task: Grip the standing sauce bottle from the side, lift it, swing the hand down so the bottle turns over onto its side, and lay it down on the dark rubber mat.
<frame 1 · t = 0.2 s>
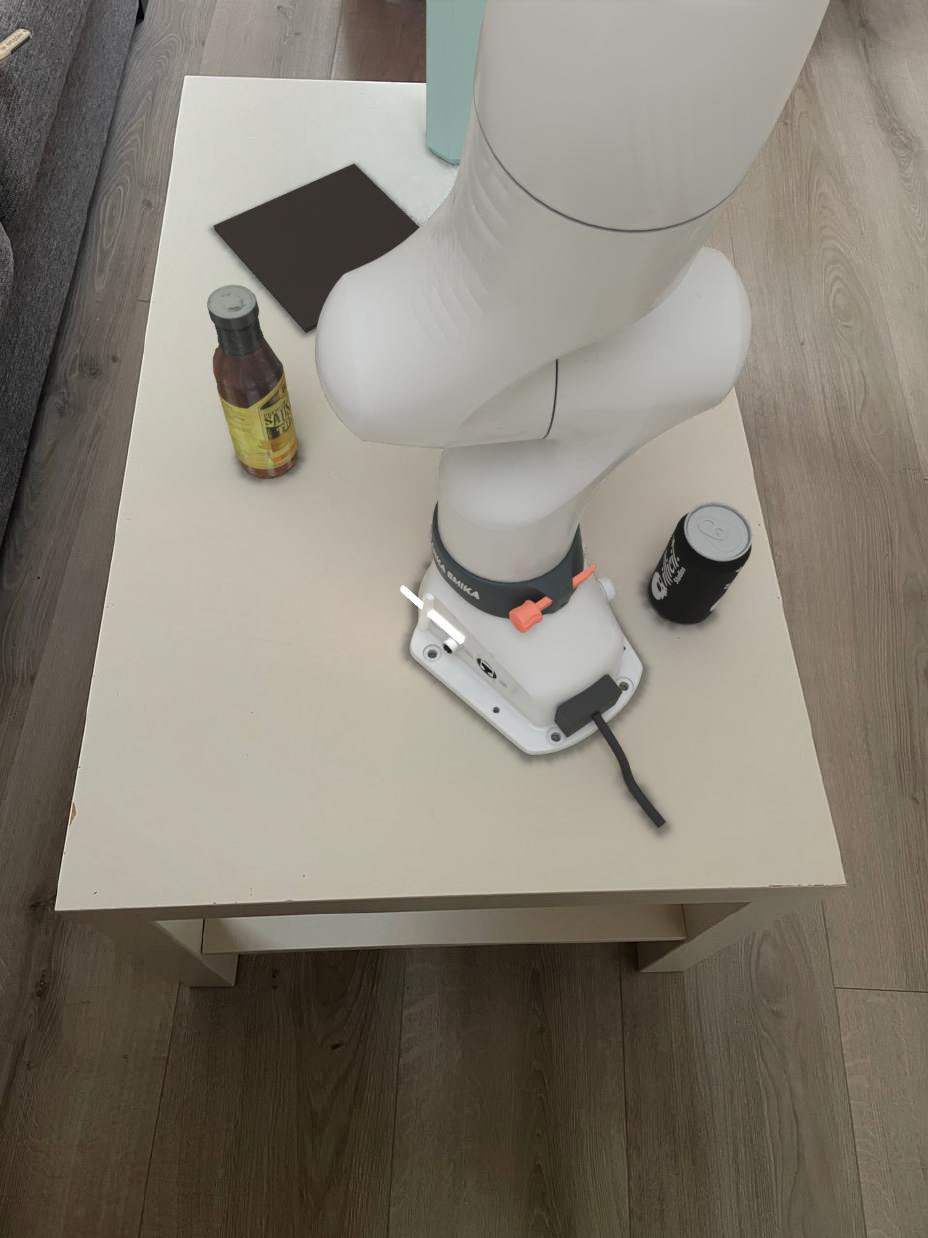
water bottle: (462, 145, 110), on the table
sauce bottle: (270, 456, 87), on the table
mat: (331, 244, 101), on the table
beverage can: (679, 598, 82), on the table
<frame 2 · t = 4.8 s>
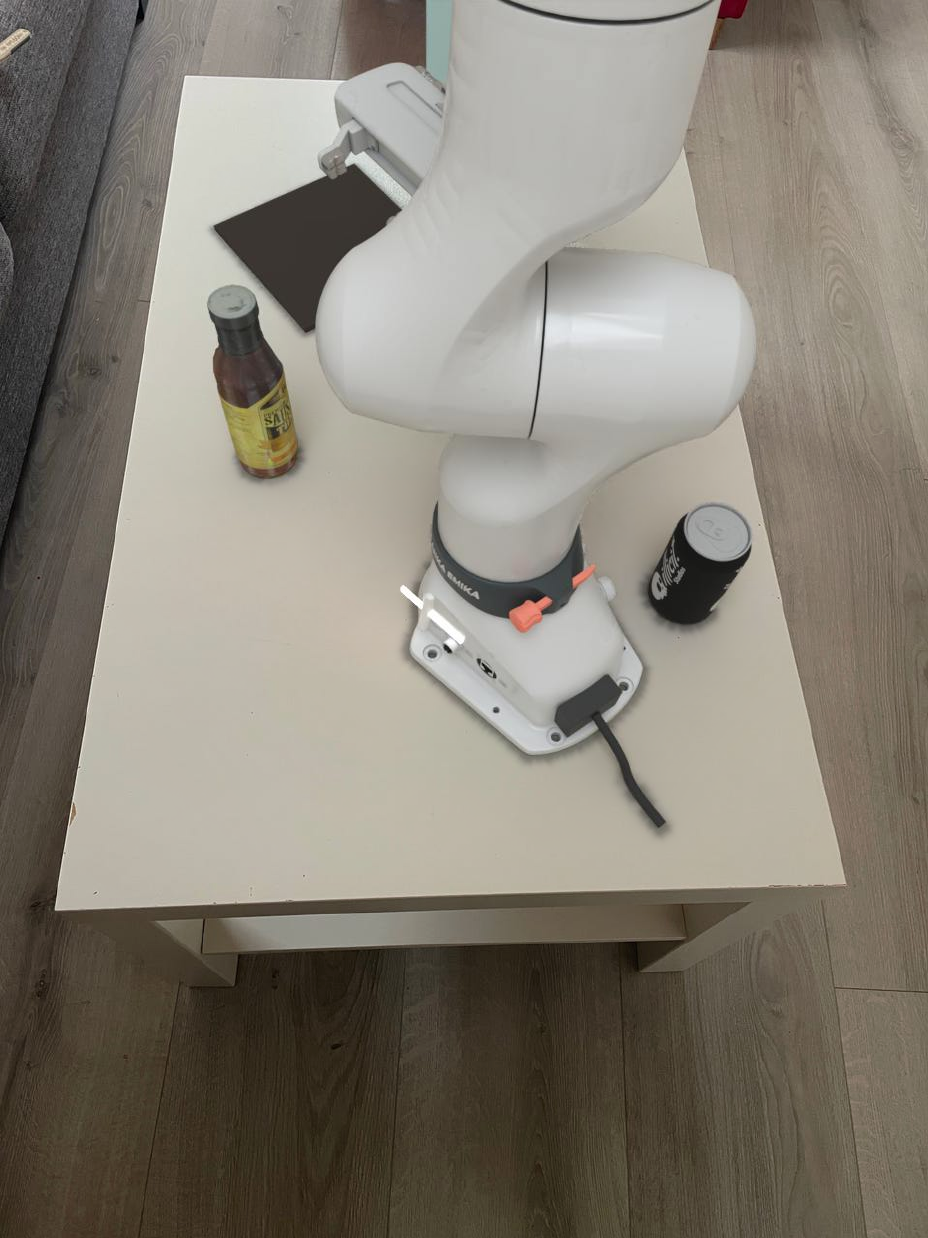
hand: (357, 199, 70), 24 cm above the table, tool horizontal, fingers open, 8 cm apart
nothing on the table moved.
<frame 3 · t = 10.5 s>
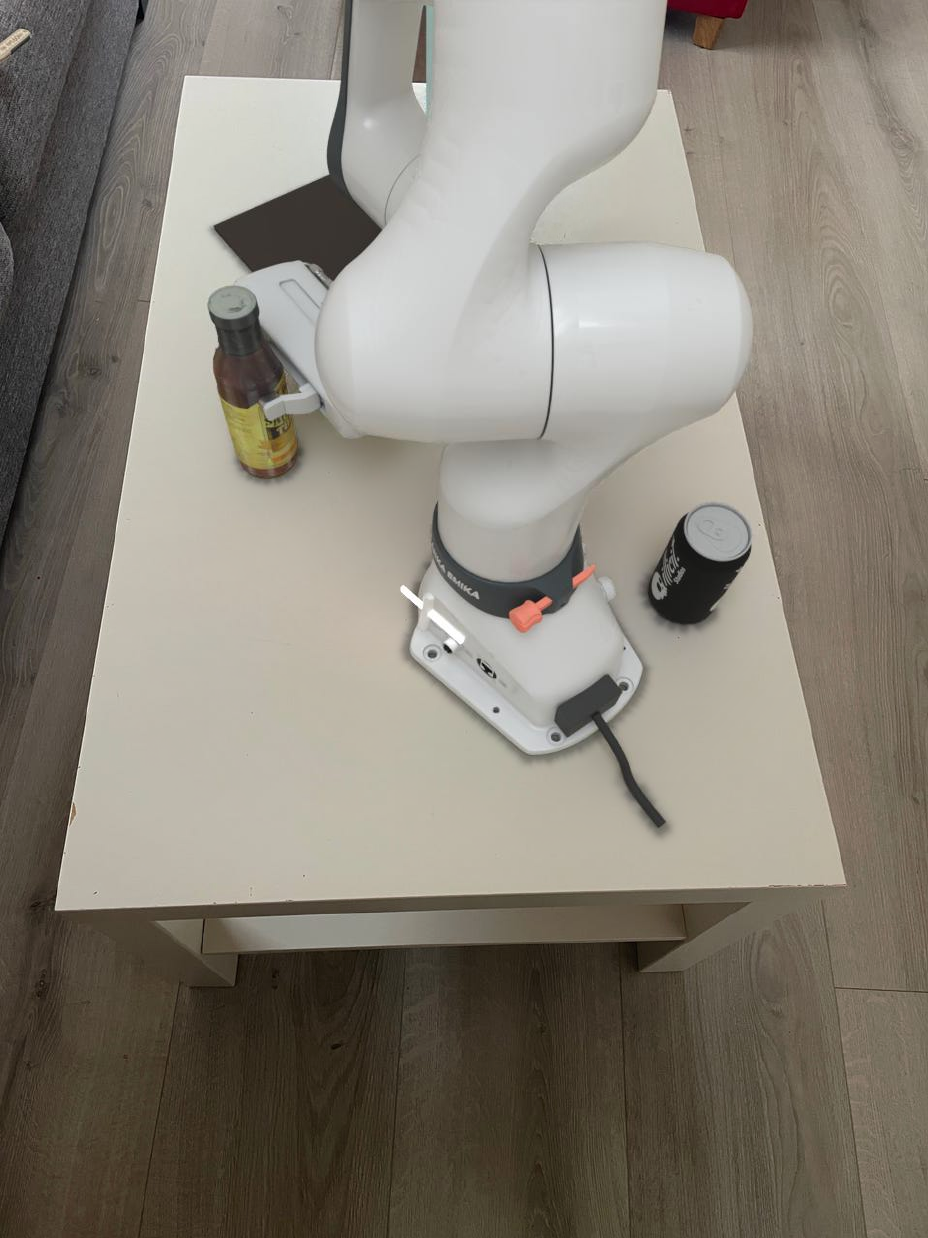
hand: (241, 384, 77), 11 cm above the table, tool horizontal, fingers closed on sauce bottle, 6 cm apart
sauce bottle: (269, 456, 87), on the table, touching gripper
everything else where it was.
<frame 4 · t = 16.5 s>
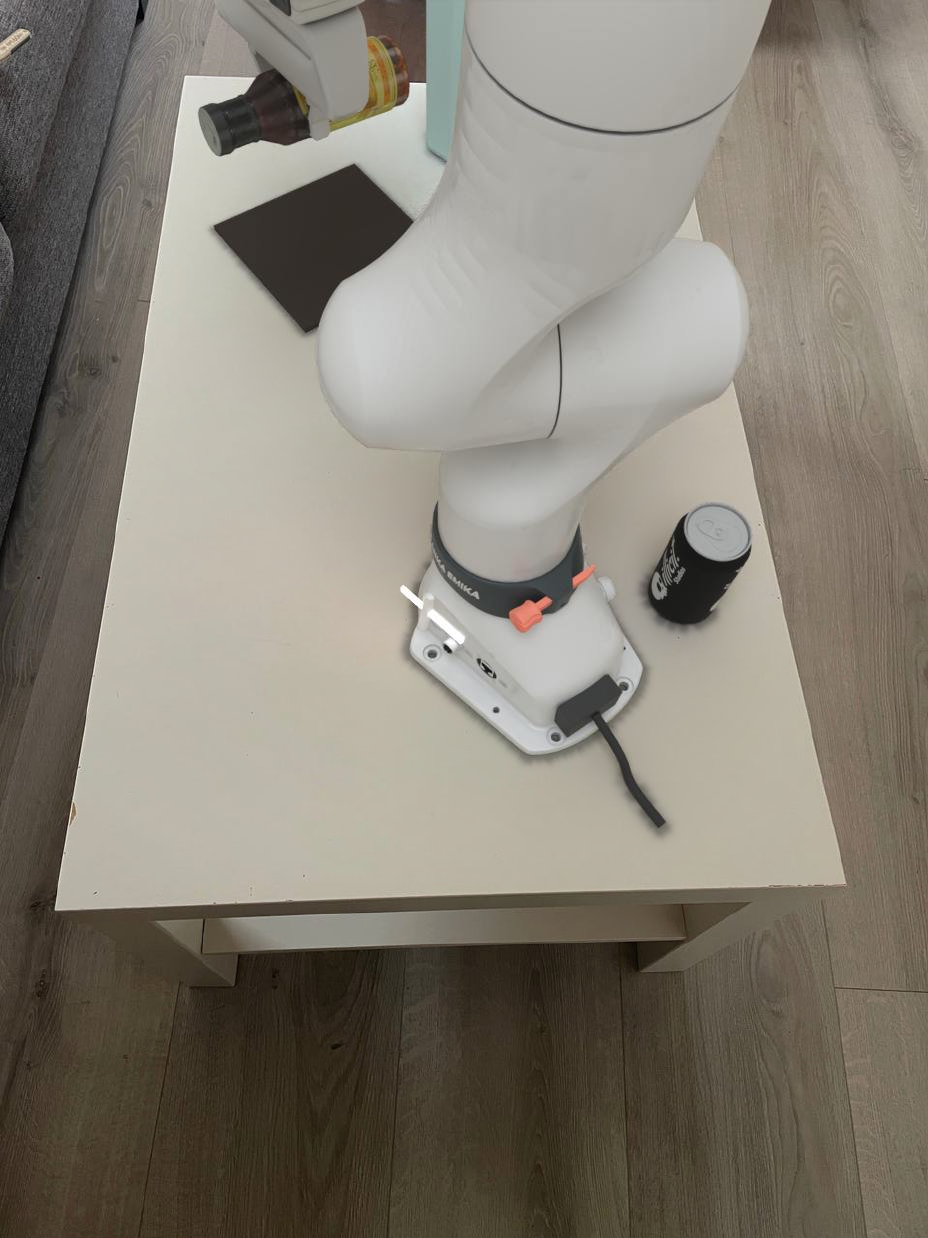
hand: (296, 113, 79), 21 cm above the table, tool pointing down, fingers closed on sauce bottle, 6 cm apart
sauce bottle: (396, 65, 82), point 21 cm above the table, touching gripper
everything else where it was.
when the fingers open (3 cm above the table, at t = 21.4 s): sauce bottle stays where it is, resting on mat.
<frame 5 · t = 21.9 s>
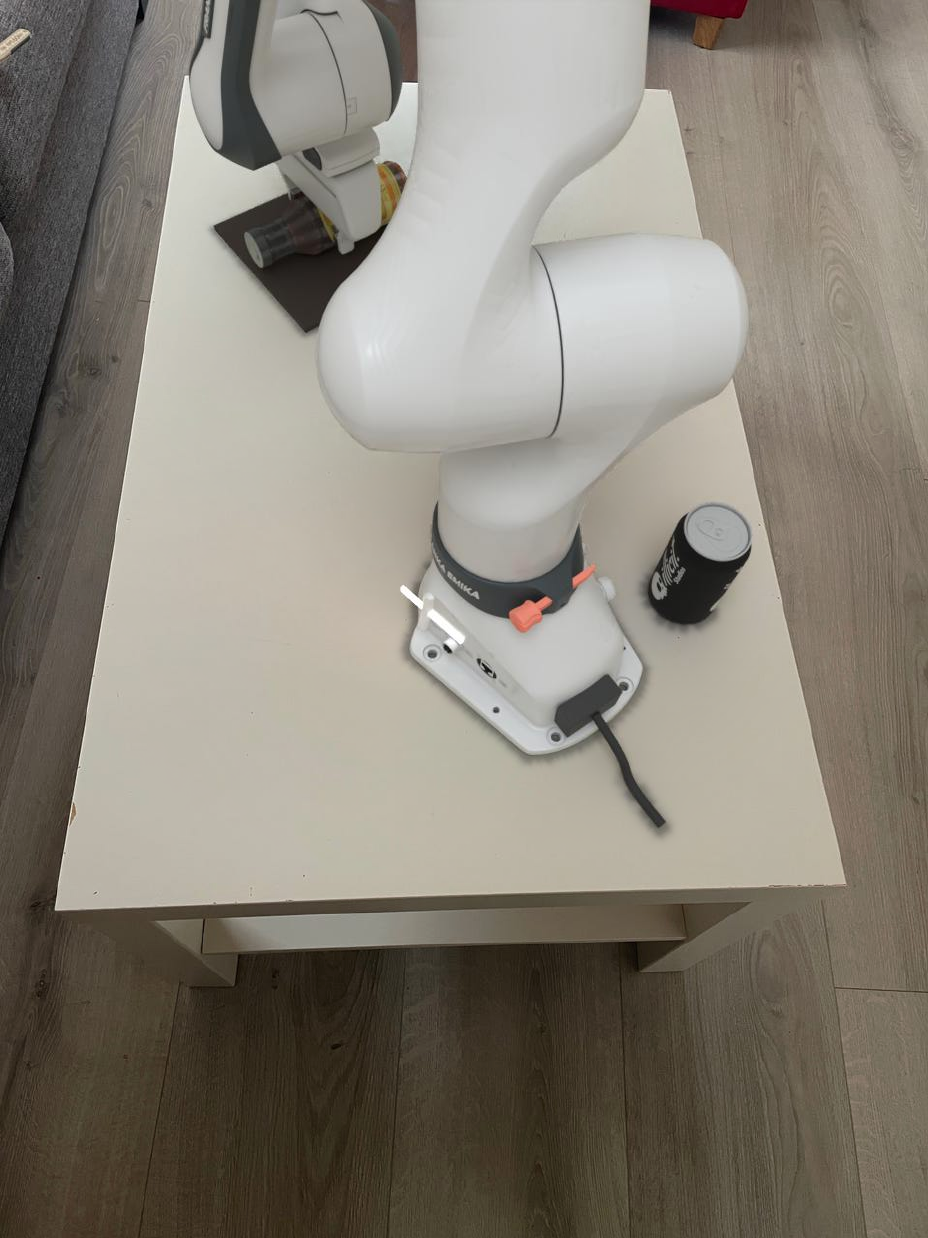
hand: (321, 224, 98), 3 cm above the table, tool pointing down, fingers open, 8 cm apart
sauce bottle: (401, 182, 101), point 4 cm above the table, touching mat
everything else where it was.
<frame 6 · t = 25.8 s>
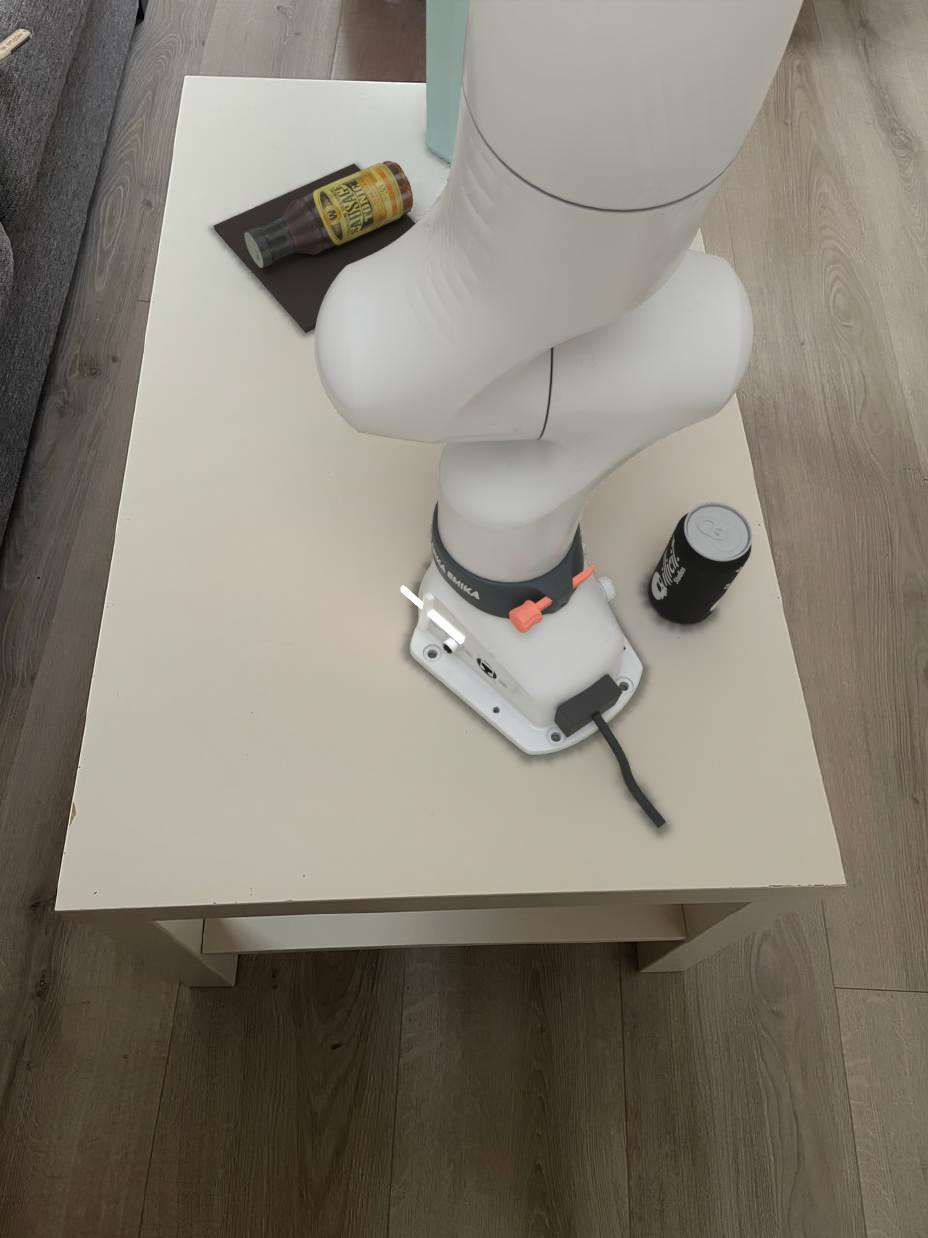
nothing on the table moved.
at the end: sauce bottle tilted 92°; sauce bottle inside the target area on the mat (10.3 cm from its centre), point 3.9 cm above the mat's base; the gripper is holding nothing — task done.
